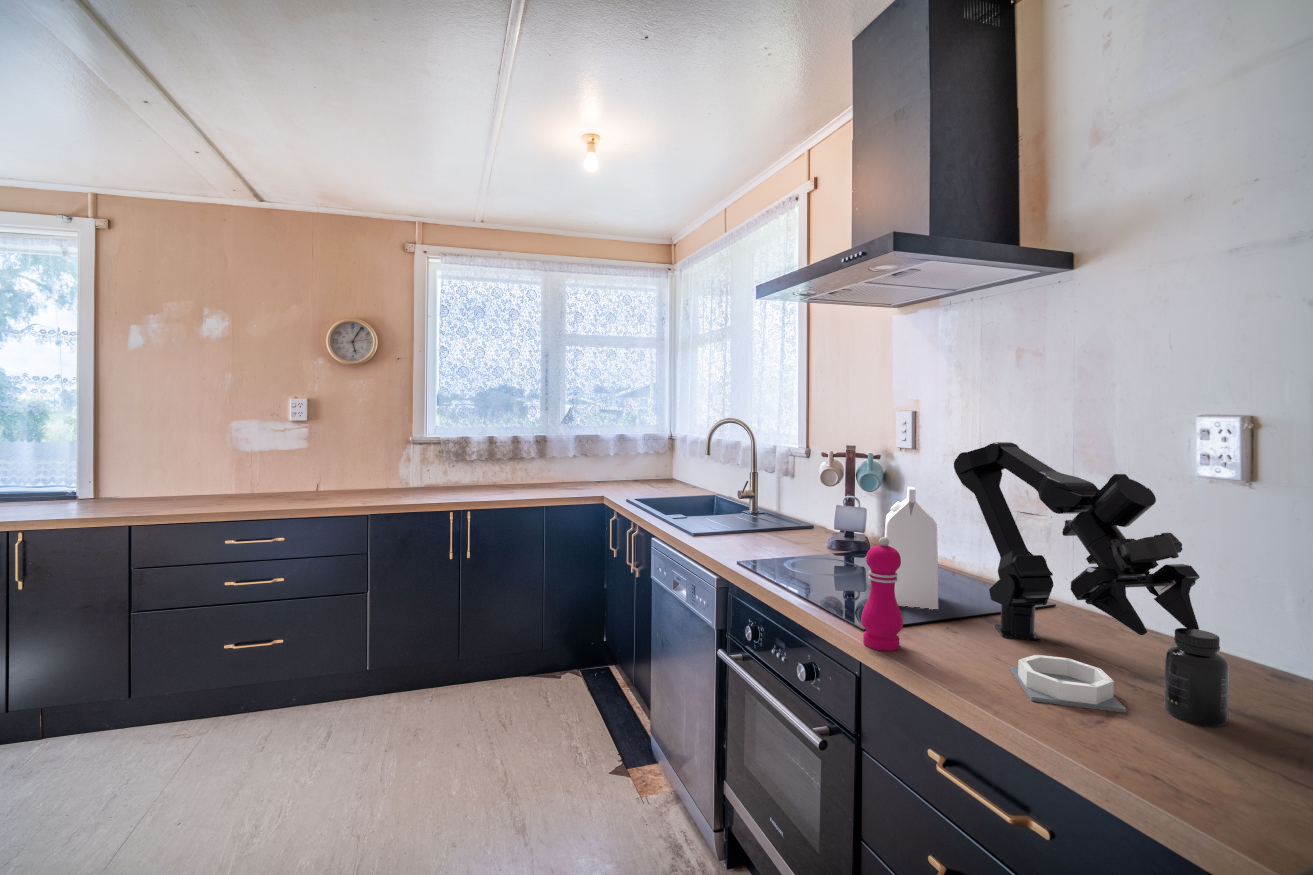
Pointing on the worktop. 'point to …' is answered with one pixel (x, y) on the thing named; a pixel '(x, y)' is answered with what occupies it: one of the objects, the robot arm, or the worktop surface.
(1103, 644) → the worktop surface
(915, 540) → the milk
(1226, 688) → the supplement bottle
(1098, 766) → the worktop surface
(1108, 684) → the collar seat
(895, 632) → the pepper mill
